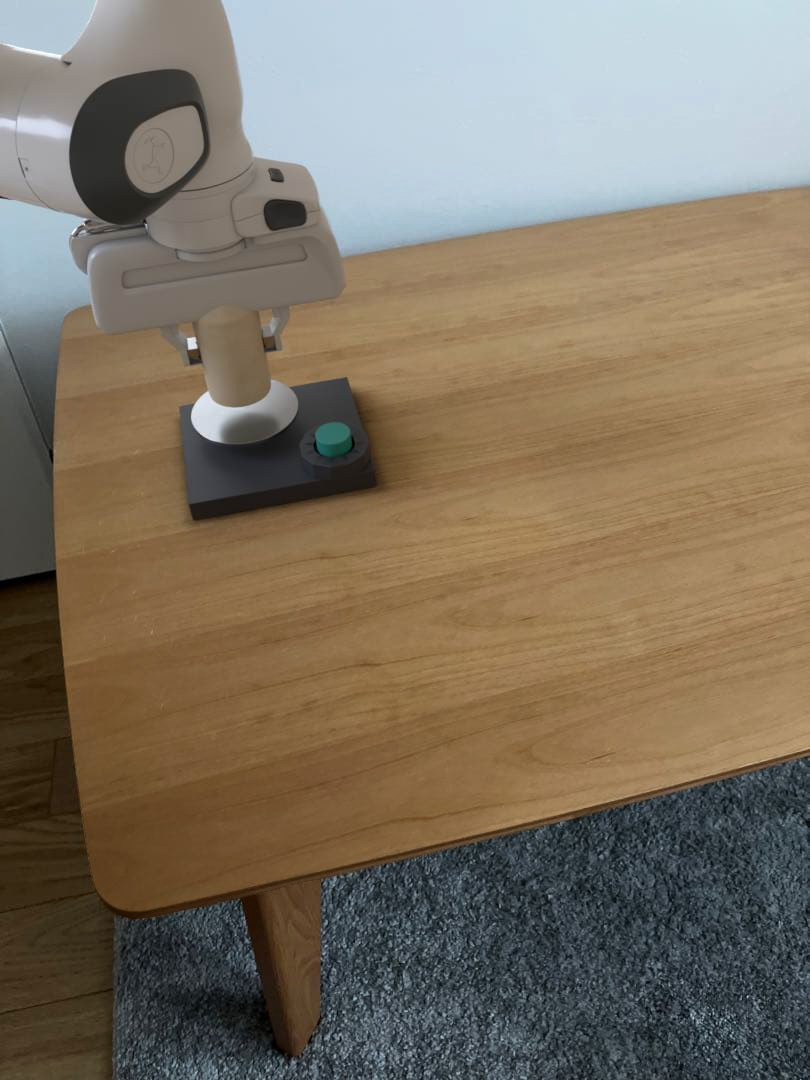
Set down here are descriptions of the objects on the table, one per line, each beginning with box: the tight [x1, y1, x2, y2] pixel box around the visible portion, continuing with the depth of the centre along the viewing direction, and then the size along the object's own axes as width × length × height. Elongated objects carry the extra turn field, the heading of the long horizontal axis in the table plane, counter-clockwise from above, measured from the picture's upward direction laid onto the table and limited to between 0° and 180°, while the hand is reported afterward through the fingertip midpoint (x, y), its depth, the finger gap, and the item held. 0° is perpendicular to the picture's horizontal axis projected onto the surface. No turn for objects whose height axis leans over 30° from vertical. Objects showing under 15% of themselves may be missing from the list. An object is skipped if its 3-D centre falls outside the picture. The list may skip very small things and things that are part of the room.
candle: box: [191, 305, 272, 408], centre depth 85 cm, size 6×6×10 cm
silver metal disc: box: [191, 379, 299, 447], centre depth 90 cm, size 10×10×1 cm
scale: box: [178, 376, 378, 521], centre depth 90 cm, size 16×14×4 cm
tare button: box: [315, 422, 352, 458], centre depth 86 cm, size 3×3×2 cm
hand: (233, 354), depth 86 cm, fingers closed on candle, 5 cm apart
